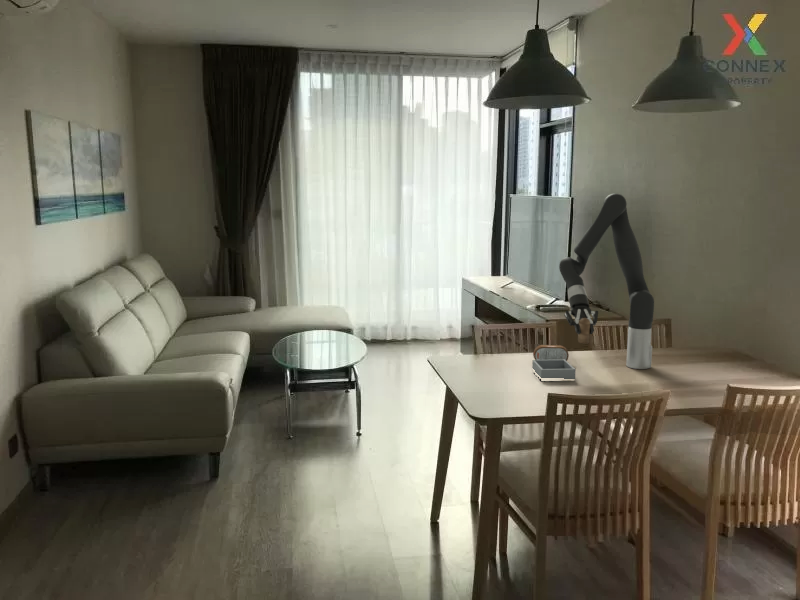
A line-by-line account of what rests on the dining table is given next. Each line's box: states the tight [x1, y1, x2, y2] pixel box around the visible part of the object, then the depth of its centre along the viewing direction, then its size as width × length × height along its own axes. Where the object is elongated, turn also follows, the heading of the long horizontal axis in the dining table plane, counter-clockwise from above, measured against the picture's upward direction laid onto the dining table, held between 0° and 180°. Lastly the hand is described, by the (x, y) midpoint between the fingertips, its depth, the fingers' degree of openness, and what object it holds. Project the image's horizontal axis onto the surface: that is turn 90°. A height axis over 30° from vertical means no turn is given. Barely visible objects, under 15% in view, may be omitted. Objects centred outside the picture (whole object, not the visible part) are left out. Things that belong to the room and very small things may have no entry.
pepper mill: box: [577, 318, 591, 344], centre depth 256 cm, size 4×4×10 cm
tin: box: [532, 344, 570, 362], centre depth 276 cm, size 15×3×8 cm, turn 84°
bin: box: [531, 359, 576, 380], centre depth 258 cm, size 14×15×5 cm
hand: (585, 333), depth 254 cm, fingers closed on pepper mill, 4 cm apart
